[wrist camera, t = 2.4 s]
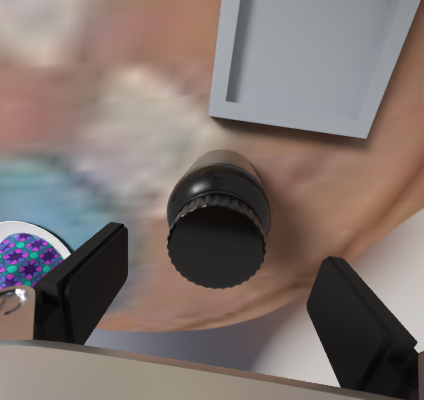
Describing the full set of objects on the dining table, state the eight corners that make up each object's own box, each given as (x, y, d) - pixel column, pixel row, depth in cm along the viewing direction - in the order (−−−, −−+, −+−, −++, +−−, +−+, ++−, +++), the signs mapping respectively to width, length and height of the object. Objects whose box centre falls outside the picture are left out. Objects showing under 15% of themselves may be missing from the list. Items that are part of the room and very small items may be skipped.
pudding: (-32, 240, 26) (-92, 267, 21) (36, 202, 23) (-14, 223, 19) (34, 306, 30) (-4, 343, 25) (100, 279, 27) (72, 314, 22)
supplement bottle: (268, 167, 20) (323, 227, 9) (235, 223, 22) (244, 324, 11) (205, 134, 19) (179, 154, 8) (177, 195, 22) (126, 274, 11)
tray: (234, -89, 14) (235, -121, 12) (425, -63, 14) (456, -91, 12) (209, 116, 19) (207, 115, 17) (352, 136, 19) (366, 138, 17)
